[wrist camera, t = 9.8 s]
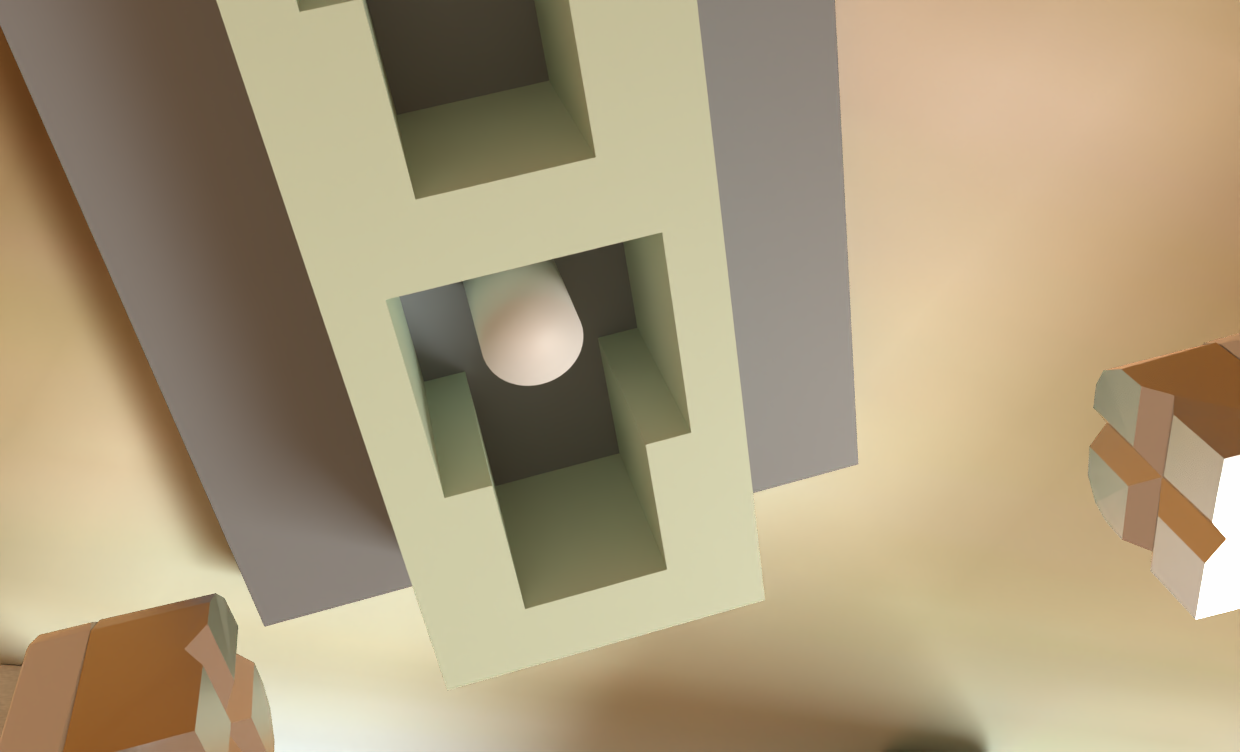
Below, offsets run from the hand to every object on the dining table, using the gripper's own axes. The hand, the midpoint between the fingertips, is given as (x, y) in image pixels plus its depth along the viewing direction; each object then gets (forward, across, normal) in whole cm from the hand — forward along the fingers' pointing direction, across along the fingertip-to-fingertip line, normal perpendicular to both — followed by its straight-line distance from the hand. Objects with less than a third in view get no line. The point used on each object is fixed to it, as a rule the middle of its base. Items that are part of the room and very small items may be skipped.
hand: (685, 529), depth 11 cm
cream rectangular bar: (+13, 0, +1) cm, 13 cm away
